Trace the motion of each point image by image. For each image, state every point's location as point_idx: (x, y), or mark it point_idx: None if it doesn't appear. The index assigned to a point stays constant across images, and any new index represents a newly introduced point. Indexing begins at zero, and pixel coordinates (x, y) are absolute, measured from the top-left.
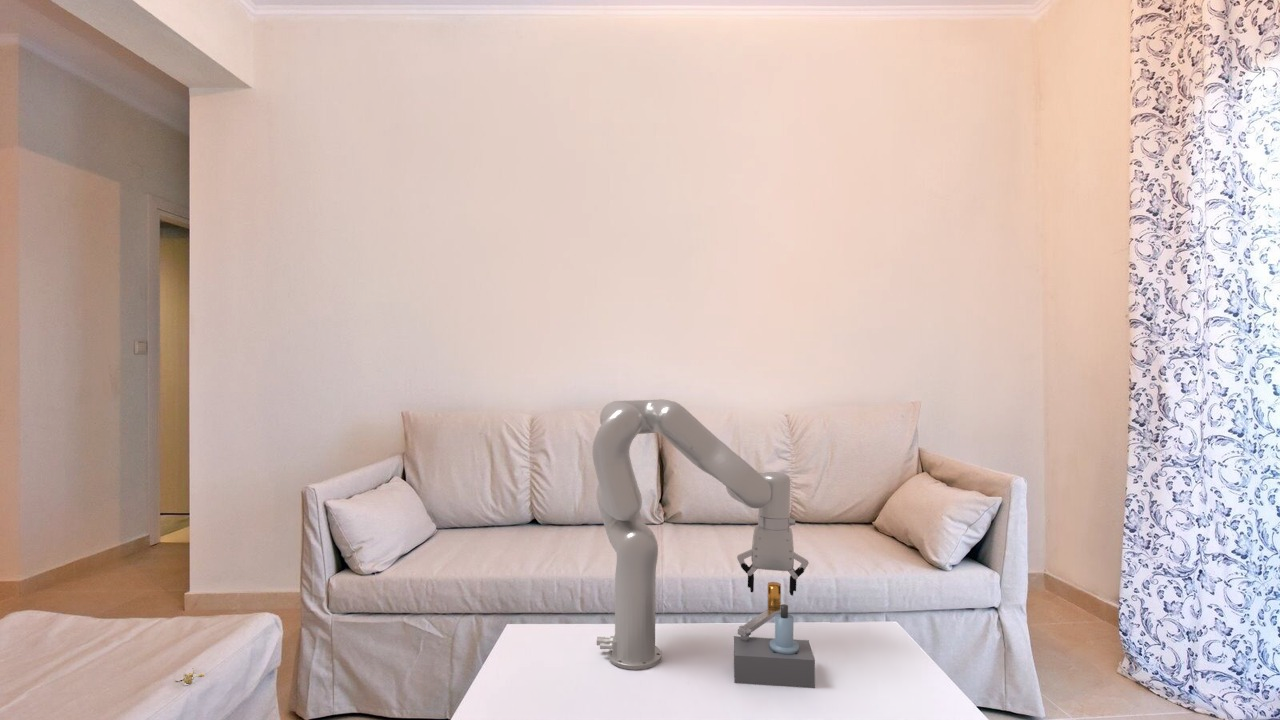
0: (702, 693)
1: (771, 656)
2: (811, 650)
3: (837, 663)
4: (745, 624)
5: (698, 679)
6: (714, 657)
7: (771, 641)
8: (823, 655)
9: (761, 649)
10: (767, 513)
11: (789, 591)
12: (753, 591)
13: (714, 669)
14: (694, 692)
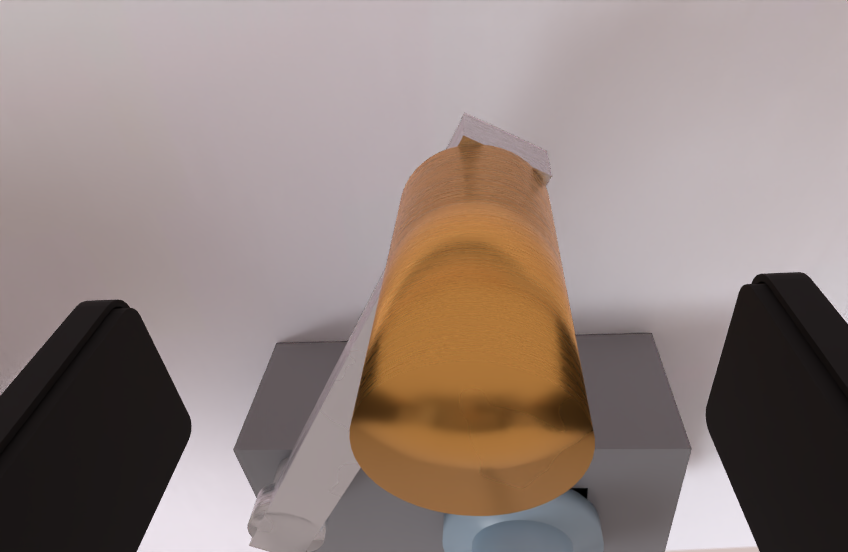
0: (237, 519)
1: None
2: (668, 529)
3: (839, 280)
4: (276, 502)
5: (190, 463)
6: (174, 316)
7: (453, 534)
8: (794, 200)
9: (404, 537)
10: None
11: (738, 295)
12: (190, 433)
13: (217, 403)
14: (211, 517)
